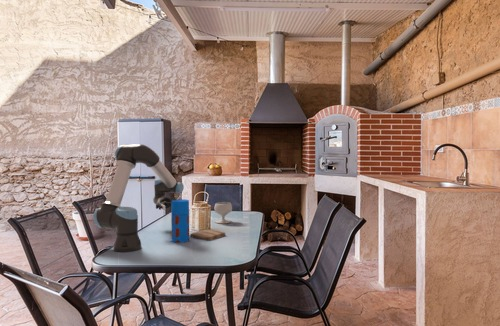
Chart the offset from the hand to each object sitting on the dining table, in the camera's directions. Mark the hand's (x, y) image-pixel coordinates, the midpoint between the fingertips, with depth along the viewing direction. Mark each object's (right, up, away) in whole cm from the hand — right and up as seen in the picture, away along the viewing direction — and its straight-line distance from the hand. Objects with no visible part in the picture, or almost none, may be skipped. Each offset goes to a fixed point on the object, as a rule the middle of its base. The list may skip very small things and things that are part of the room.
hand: (175, 206), depth 224 cm
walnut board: (+21, -19, +2) cm, 29 cm away
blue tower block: (+5, -20, -8) cm, 22 cm away
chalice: (+28, -18, +47) cm, 57 cm away
